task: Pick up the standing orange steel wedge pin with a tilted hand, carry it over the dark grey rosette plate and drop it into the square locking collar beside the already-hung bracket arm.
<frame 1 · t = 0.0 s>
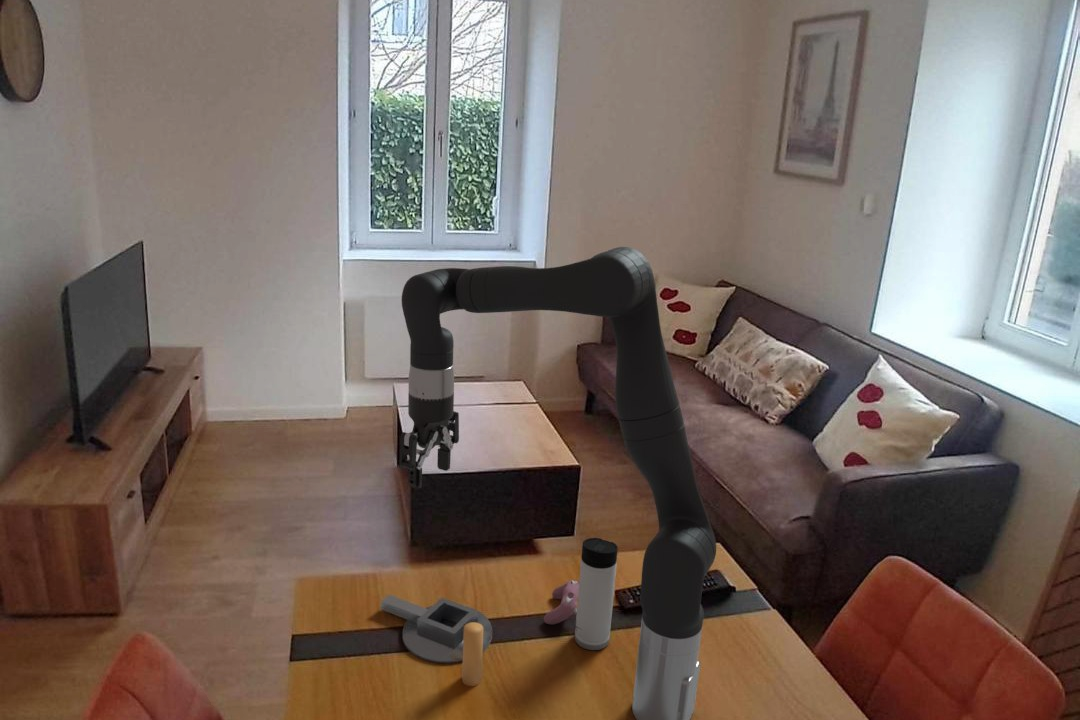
hand: (429, 477, 142), 29 cm above the table, tool pointing down, fingers open, 8 cm apart
video game controller: (562, 613, 156), on the table
travel mug: (591, 641, 148), on the table
rosette: (447, 634, 148), on the table
wedge pin: (471, 679, 137), on the table
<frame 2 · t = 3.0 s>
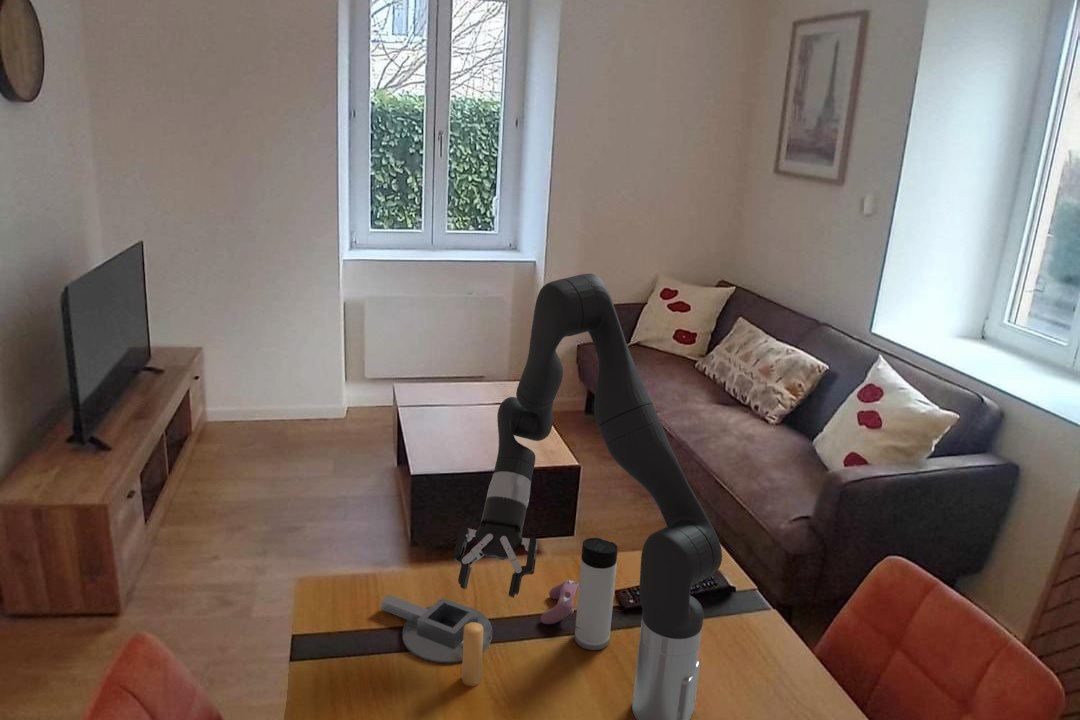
hand: (487, 592, 141), 12 cm above the table, tool tilted 45°, fingers open, 8 cm apart
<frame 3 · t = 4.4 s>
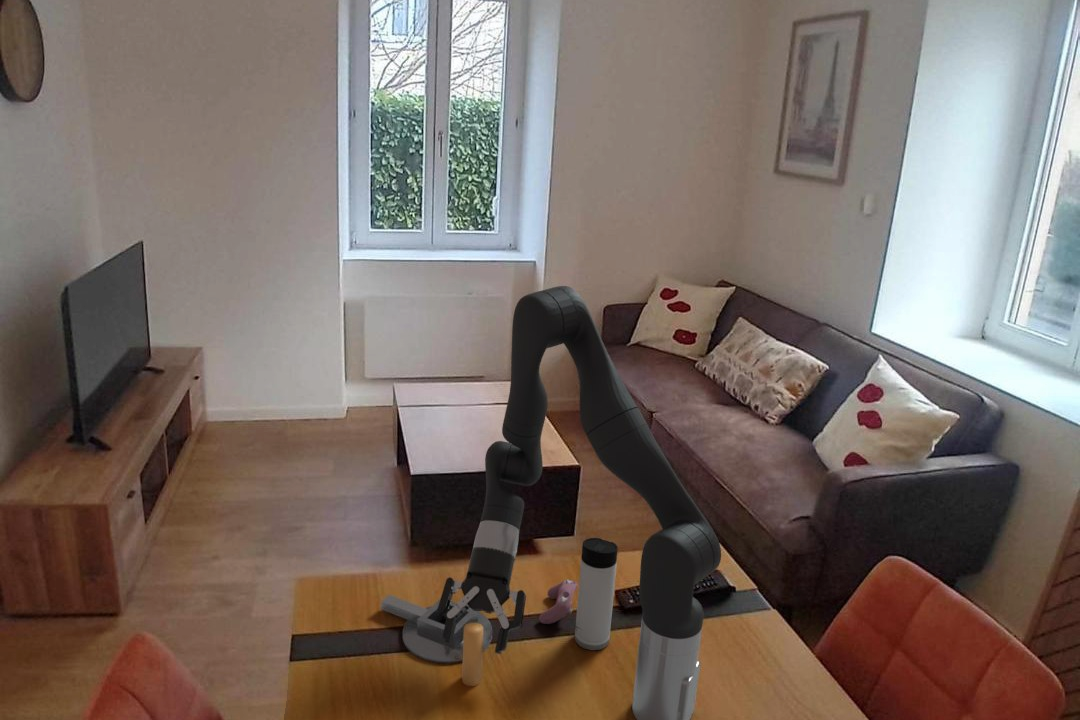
hand: (472, 648, 135), 6 cm above the table, tool tilted 45°, fingers open, 8 cm apart
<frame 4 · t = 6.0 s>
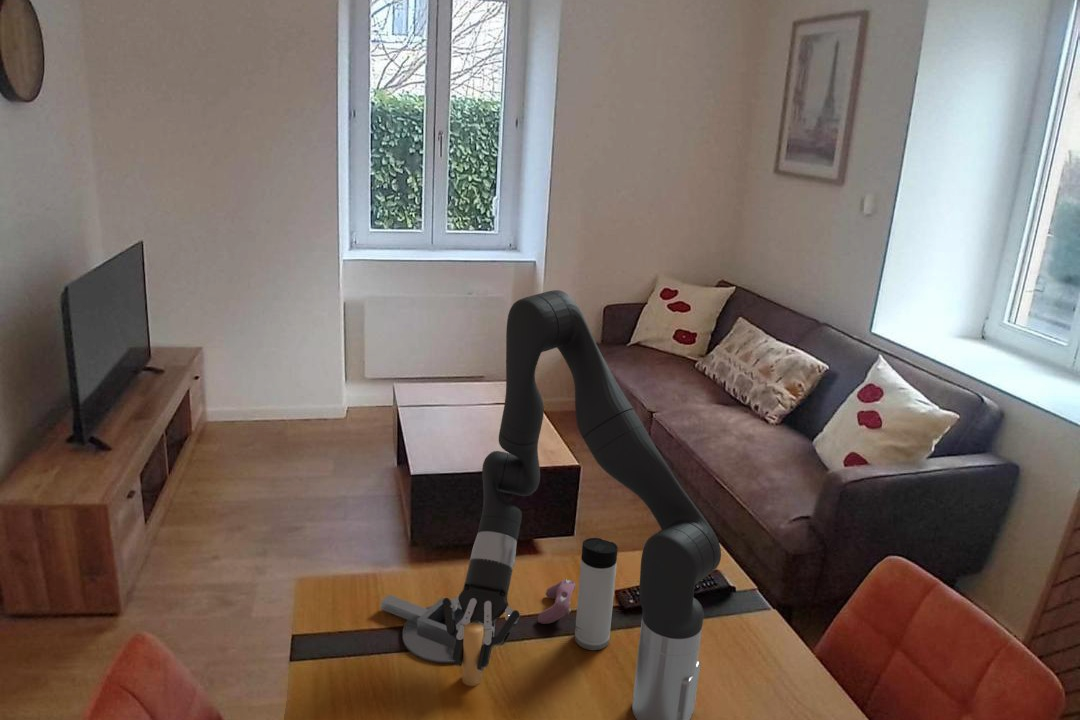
hand: (469, 667, 134), 4 cm above the table, tool tilted 45°, fingers closed on wedge pin, 3 cm apart
wedge pin: (471, 679, 137), on the table, touching gripper
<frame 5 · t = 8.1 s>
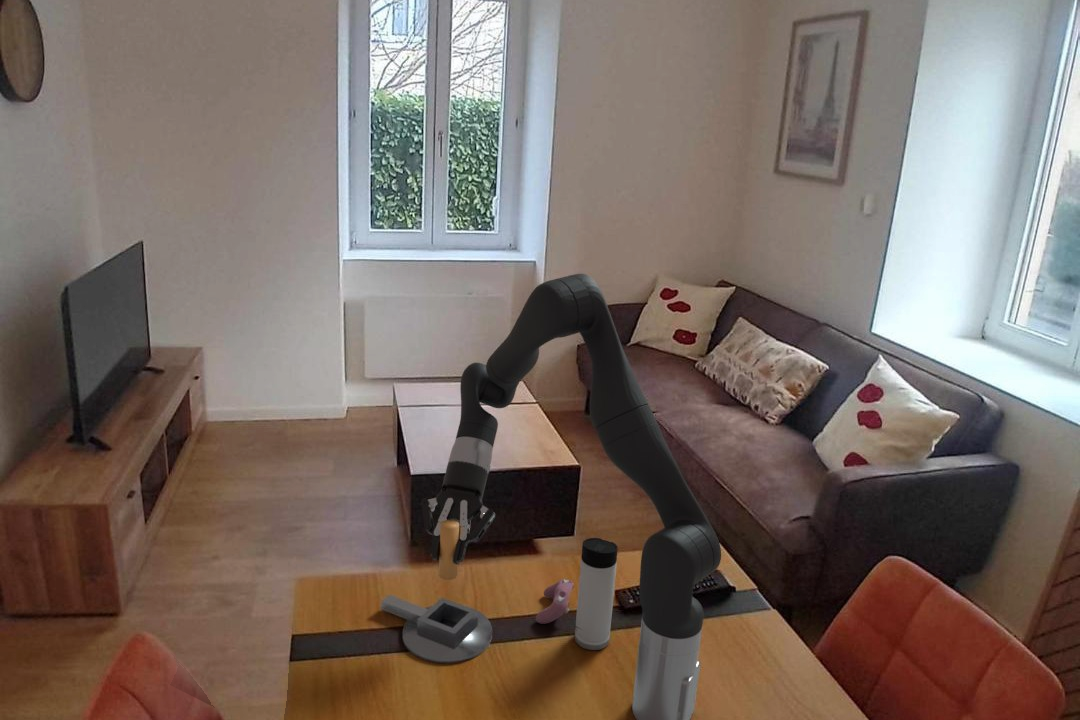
hand: (445, 561, 141), 16 cm above the table, tool tilted 45°, fingers closed on wedge pin, 3 cm apart
wedge pin: (448, 574, 144), point 12 cm above the table, touching gripper
when the fingers open (6 cm above the table, at t = 10.3 s): wedge pin drops 1 cm, resting on rosette.
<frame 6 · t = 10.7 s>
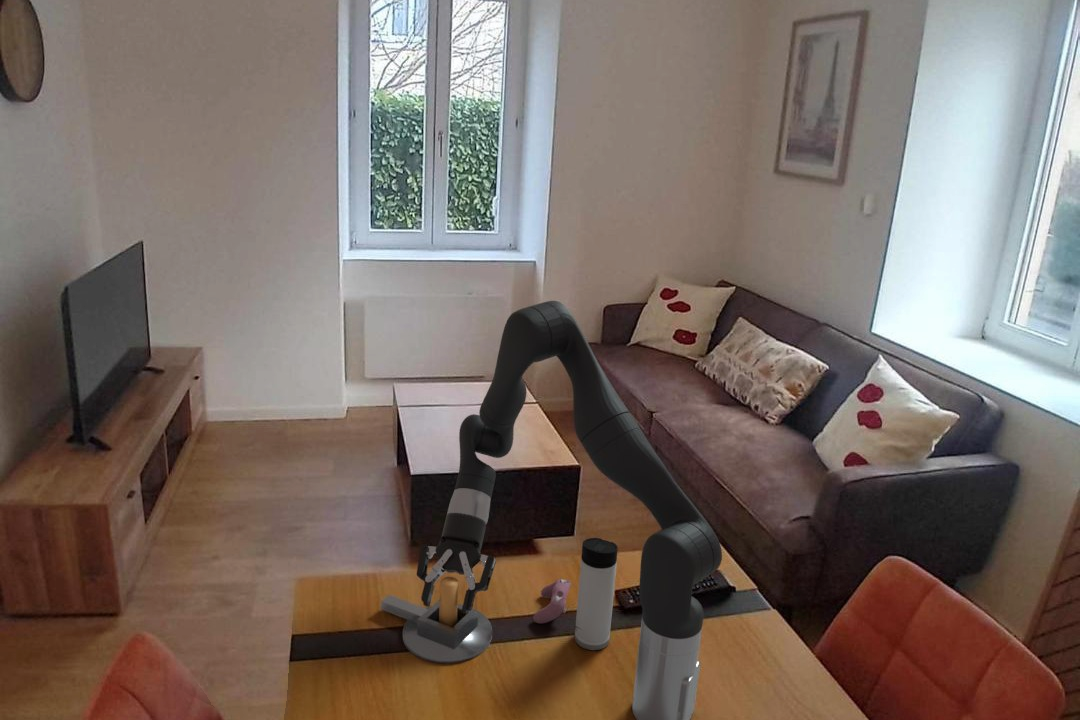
hand: (445, 608, 144), 6 cm above the table, tool tilted 45°, fingers open, 6 cm apart
wedge pin: (447, 629, 148), point 1 cm above the table, touching rosette
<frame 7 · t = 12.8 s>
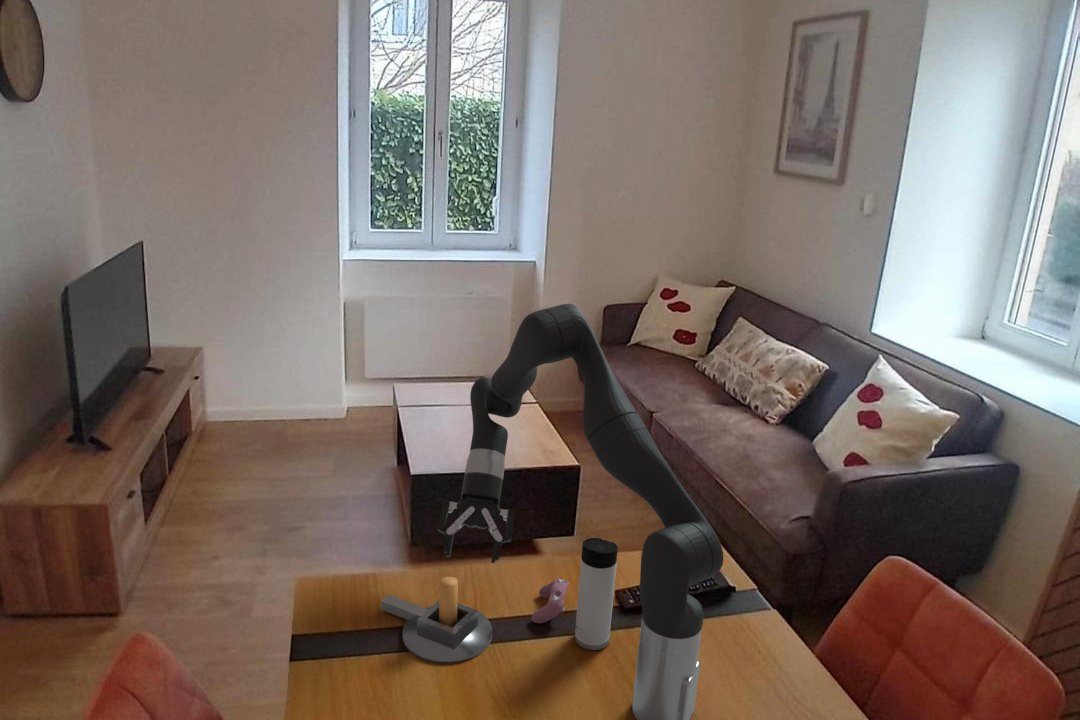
hand: (470, 559, 154), 9 cm above the table, tool tilted 40°, fingers open, 8 cm apart
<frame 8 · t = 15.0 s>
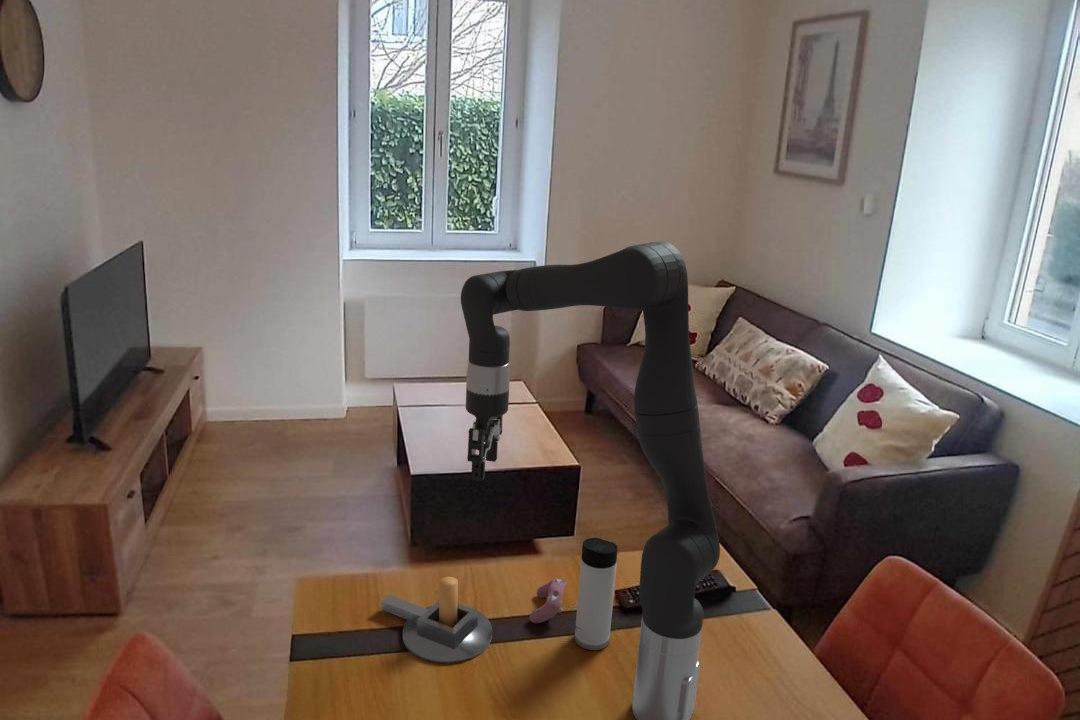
hand: (484, 469, 149), 28 cm above the table, tool pointing down, fingers open, 8 cm apart
at the end: wedge pin 0.1 cm off-centre on the rosette, point 0.8 cm above the rosette's base; wedge pin tilted 0°; the gripper is holding nothing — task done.
